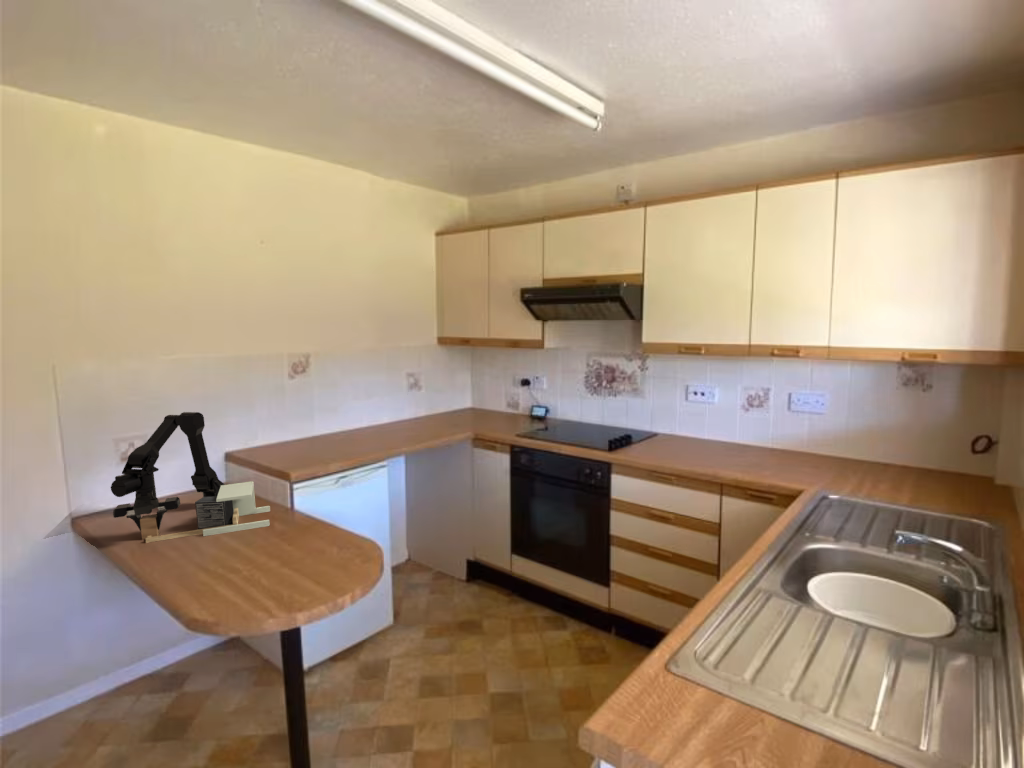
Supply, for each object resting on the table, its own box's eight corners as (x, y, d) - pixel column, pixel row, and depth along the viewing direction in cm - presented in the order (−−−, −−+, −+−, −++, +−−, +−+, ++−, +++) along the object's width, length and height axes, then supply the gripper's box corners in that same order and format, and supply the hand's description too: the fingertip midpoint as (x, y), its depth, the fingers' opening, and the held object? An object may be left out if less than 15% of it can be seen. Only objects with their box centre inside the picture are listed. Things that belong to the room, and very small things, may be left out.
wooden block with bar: (146, 531, 194) (144, 512, 194) (239, 517, 206) (237, 499, 205) (139, 543, 184) (137, 523, 183) (237, 528, 196) (235, 509, 195)
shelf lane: (209, 519, 205) (205, 487, 203) (270, 510, 213) (267, 479, 211) (203, 536, 189) (199, 501, 188) (269, 525, 197) (266, 492, 196)
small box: (235, 522, 201) (233, 494, 200) (227, 529, 195) (224, 501, 193) (206, 523, 201) (203, 495, 200) (197, 530, 195) (194, 502, 193)
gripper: (105, 498, 177) (111, 544, 179) (172, 489, 184) (177, 534, 186) (114, 488, 187) (120, 532, 189) (178, 480, 194) (182, 522, 197)
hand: (150, 530), depth 190 cm, fingers closed on wooden block with bar, 4 cm apart
